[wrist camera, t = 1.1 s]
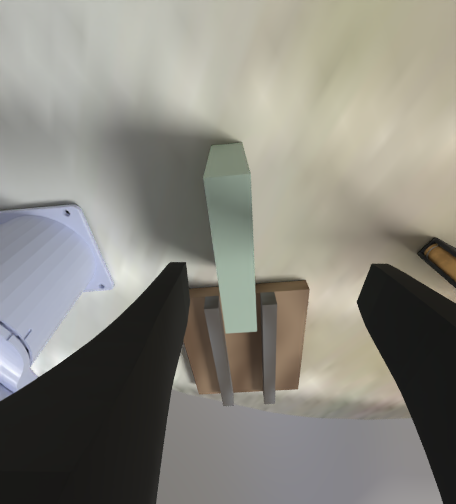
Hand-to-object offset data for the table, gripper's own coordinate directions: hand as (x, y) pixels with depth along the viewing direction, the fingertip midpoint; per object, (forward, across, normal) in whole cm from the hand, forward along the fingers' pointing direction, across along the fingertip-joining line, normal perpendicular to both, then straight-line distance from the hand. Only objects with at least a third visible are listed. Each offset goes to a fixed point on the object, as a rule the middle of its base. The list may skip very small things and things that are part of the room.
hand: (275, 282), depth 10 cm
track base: (+10, 0, +16) cm, 19 cm away
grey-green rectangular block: (+10, +2, +2) cm, 10 cm away
